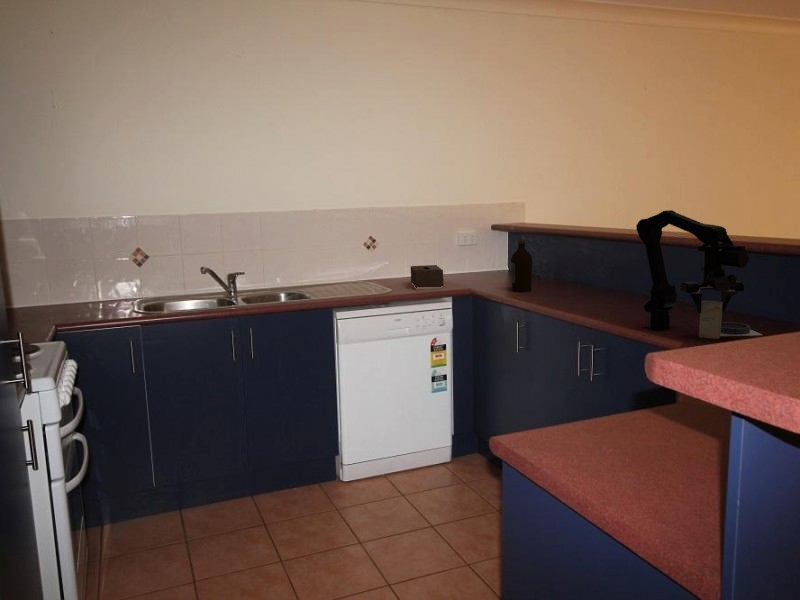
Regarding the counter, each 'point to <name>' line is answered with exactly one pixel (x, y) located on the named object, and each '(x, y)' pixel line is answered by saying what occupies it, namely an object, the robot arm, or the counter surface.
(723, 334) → the grey base plate
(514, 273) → the olive oil
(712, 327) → the skincare box
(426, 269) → the tissue box cover
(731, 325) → the dark grey ring
